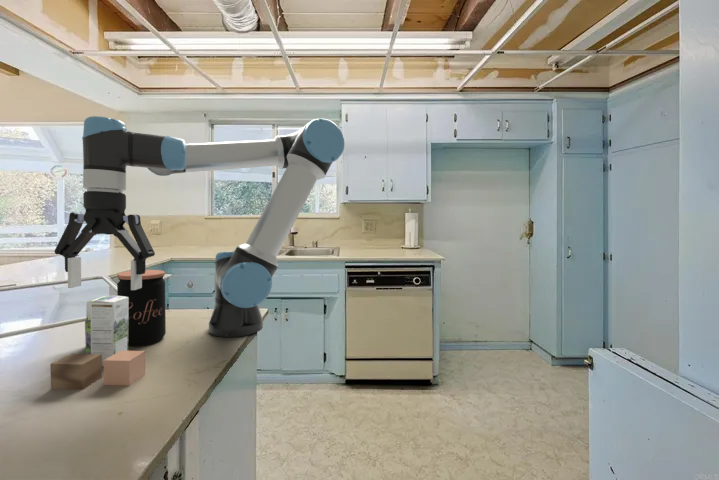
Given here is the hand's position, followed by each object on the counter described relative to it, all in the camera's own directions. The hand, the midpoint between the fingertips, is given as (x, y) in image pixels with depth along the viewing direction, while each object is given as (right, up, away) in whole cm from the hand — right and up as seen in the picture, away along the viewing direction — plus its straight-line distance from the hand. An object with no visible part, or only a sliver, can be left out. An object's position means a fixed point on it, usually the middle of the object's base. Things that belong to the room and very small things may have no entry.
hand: (105, 288), depth 77 cm
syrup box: (0, -17, +1) cm, 17 cm away
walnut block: (+1, -18, -9) cm, 20 cm away
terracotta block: (+9, -18, -7) cm, 21 cm away
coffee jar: (-1, -16, +15) cm, 22 cm away
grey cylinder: (-9, -16, +10) cm, 21 cm away
